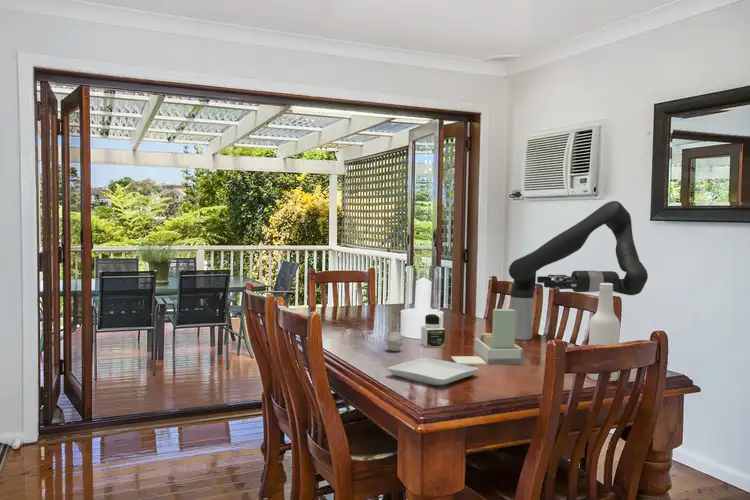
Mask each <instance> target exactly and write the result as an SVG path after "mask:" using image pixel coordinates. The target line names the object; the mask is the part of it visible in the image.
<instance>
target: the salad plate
mask: <svg viewBox="0 0 750 500" xmlns="http://www.w3.org/2000/svg"><path fill="white" fill-rule="evenodd" d="M386 369H387V371H388V372H389V373H391V374H392V375H394V376H397V377H400V378H403V379H406V380H410V381H413V382H414V381H415V382H418V383H422V384H427V385H432V386H445V385H448V384H451V383H454V382H457V381H459V380H463V379H465V378H467V377H471V376H472V375H474V374H476V373H477V372H478V371H479V369H480V368H479V367H476V366H473V365H463V364H458V363H455V362H453V361H448V360H441V359H436V358H435V359H434V358H429V357H421V358H417V359H414V360H409V361H406V362H401V363H397V364H395V365H390V366H388V367H387V368H386Z"/></svg>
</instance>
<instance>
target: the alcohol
mask: <svg viewBox="0 0 750 500" xmlns="http://www.w3.org/2000/svg"><path fill="white" fill-rule="evenodd" d="M599 288H600V291H599V292H598V303H597V310H596V312H595V313H594V314H593V315H592V317H591V318H590V321H589V332H588V333H589V335H588V336H589V337H588V346H589V345H597V344H610V343H619V344H620V337H621V336H620V335H621V324H620V319H619V318H618V317H617V315H616V314H615V310H614V292H613V284H612V283H600V287H599ZM598 375H599V374H588V373H587V376H588V378H589V380H591V381H594V382H598V381H597V379H598ZM618 379H619V371H618V372H614V373H612V374H611V378H610V381H615V382H616V381H617V380H618Z"/></svg>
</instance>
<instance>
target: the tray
mask: <svg viewBox="0 0 750 500" xmlns="http://www.w3.org/2000/svg"><path fill="white" fill-rule="evenodd" d="M524 352H525V349H524V348H522V347H520V346H519V345H518V344H516V343H515V349H491V348H489V347H488V346H487V345H486V344H484V343H483V342H482V341H481V340H480V339H479V338H478V337H475V338H474V353H475V354H477V355H478V356H479V357H480V358H482V359H483V360H484V361H485V362H486V363H487V364H488V365H524V359H525V357H524V356H525V355H524V354H525V353H524Z"/></svg>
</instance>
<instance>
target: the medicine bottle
mask: <svg viewBox="0 0 750 500" xmlns="http://www.w3.org/2000/svg"><path fill="white" fill-rule="evenodd" d="M424 318H425V319H424V320H425V321H424V322H425V325H421V326H420V327H421V329H420V330H421V331H420V332H421V333H420V334H421V335H420V344H421V345H422V346H424V347H426V348H427V349H428V348H429V349H430V348H444V347H445V340H446V339H445V338H446V337H445V336H446V335H445V333H446V329H445V328H443V326H442V316H441V315H439V314H434V313H433V314H432V313H430V314H427V315H425V317H424Z"/></svg>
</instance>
